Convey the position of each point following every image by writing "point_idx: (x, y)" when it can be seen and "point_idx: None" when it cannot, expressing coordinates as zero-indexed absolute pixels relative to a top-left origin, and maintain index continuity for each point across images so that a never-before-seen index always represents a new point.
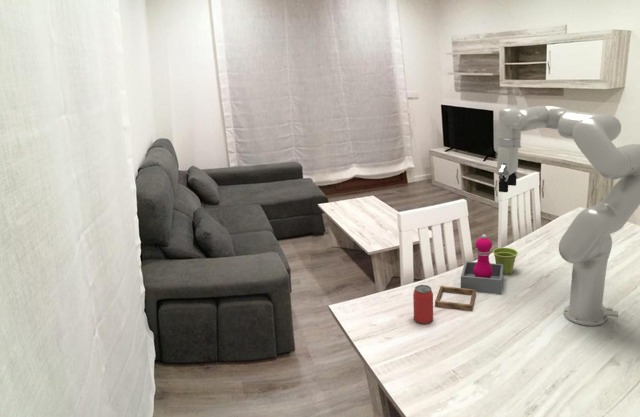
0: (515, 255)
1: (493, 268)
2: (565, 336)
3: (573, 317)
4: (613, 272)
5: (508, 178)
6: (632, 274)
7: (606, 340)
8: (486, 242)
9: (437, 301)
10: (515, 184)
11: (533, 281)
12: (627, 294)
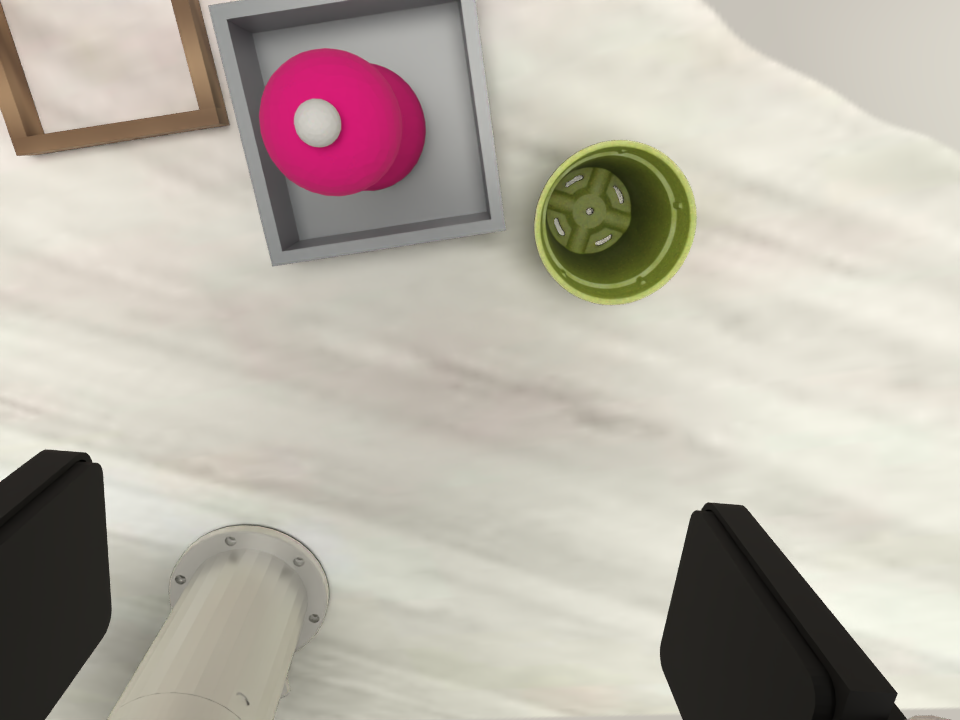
0: (579, 297)
1: (483, 171)
2: None
3: (191, 568)
4: None
5: (757, 640)
6: None
7: (111, 660)
8: (279, 159)
9: None
10: (677, 676)
11: (510, 371)
12: (517, 699)
